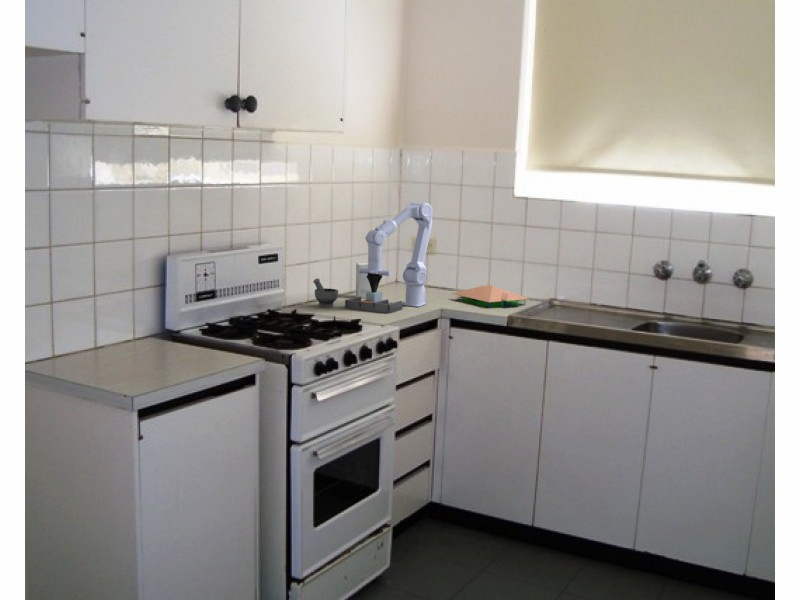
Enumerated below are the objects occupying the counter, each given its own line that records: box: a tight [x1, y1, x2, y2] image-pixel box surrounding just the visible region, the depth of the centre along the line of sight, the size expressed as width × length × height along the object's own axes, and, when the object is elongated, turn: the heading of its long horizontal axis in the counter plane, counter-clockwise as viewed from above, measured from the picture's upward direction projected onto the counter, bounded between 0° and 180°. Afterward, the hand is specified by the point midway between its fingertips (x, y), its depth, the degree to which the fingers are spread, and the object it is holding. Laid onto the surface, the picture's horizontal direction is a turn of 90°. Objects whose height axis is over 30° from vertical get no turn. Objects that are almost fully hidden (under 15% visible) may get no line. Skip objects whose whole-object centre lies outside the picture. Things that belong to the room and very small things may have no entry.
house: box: [452, 284, 529, 309], centre depth 379 cm, size 23×33×8 cm
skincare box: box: [355, 262, 371, 299], centre depth 380 cm, size 8×7×16 cm
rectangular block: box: [365, 290, 383, 303], centre depth 351 cm, size 7×4×6 cm, turn 154°
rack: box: [344, 296, 404, 314], centre depth 351 cm, size 12×21×4 cm, turn 64°
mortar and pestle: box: [313, 278, 339, 308], centre depth 353 cm, size 11×9×12 cm
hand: (374, 291), depth 350 cm, fingers closed
